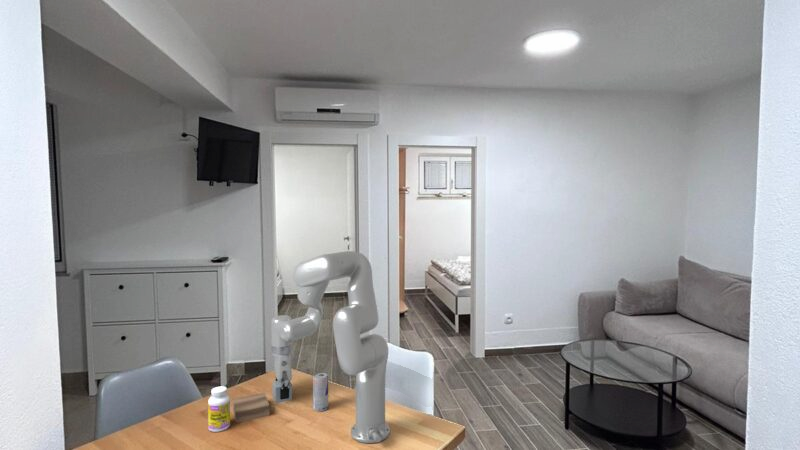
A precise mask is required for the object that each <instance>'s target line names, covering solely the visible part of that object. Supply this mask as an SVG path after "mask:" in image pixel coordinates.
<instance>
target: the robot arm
mask: <svg viewBox="0 0 800 450" xmlns="http://www.w3.org/2000/svg"><path fill="white" fill-rule="evenodd" d="M343 278H349V281H348V284H347V297H348V305H347V306H344V307H343V306H342V307H341V308H339V309H338V311H336V313H335V314H334V317H333V320H332V330H333V337H334V342H335V350H336V355H337V360H338V364H339V367H340V368H341V370H342V371H343V372H344V373H345V374H346V375H349V376H355V423H354V424H353V425H352V426H351V429H350V436H351V437H352V438H353V439H354V440H355V441H357V442H360V443H363V444H375V443H380V442H383V441H384V440H386V439H387V438H388V437H389V436H390V433H391V428H390V426H389V424H388V423H387V422H386V372H387V363H388V359H389V346H388V341H386V339H385V337H383V336H382V335H379V334H376V333H375V334H374V333H372V334H368V335H365V336H362V337H361V335H362V334H365V333H368V332H370V331H372V330H374V329H375V328H377V326H378V323H379V312H378V311H379V310H378V306H377V300H376V295H375V294H376V293H375V289H374V282H373V270H372V264H371V263H370V261H369V259H368V258H367V256H366V255H365V254H363V253H361V252H358V251H354V250H353V251H352V250H351V251H350V250H349V251H347V250H345V251H339V252H332V253H325V254H321V255H318V256H316V257H315V256H314V257H313V258H310V259H307V260H304V261H300V262H299V263H298V264H297V265H296V266H295V267H294V269H293V272H292V279H293V282H294V283H295V285H296V286H297V287H299V290H298V292H297V299H298V301H299V303H301V304H303V305H304V306H306V307H308V308H307V311H306V313H305V315H303V316H299V317H296V318H292V316H289V315H287V314H283V315H282V314H281V315H276V316H274V317H272V319H271V323H270V324H271V328H270V329H271V331H270V332H271V355H272V356H273V357H274V359H273V361H274V366H273V367H274V369H273V370H274V375H275V381H279V382H280V384H281V389H280V399H281V400H282V399H287V398H289V382H288V379H289V380H290V382H291V381H292V380H293V377H292V376H293V373H292V359H291V357H292V356H291V354H292V353H293V342H296V341H298V340H300V339H302V338H303V339H304V338H306V337H308V336H311V335H313V334H314V333H315V332H316V331H317V330H318V328H319V326H320V324H321V322H322V320H323V316H324V310H323V305H322V300H323V297H324V294H325V293H326V290H327V288H328V286H329V283H330V281H334V280H340V279H343ZM283 382H284V383H283ZM282 383H283V384H282Z"/></svg>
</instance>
